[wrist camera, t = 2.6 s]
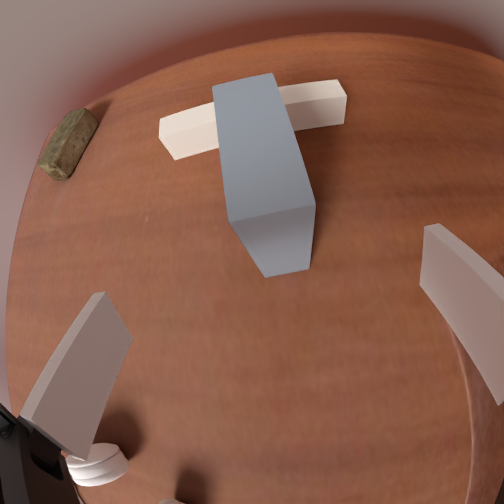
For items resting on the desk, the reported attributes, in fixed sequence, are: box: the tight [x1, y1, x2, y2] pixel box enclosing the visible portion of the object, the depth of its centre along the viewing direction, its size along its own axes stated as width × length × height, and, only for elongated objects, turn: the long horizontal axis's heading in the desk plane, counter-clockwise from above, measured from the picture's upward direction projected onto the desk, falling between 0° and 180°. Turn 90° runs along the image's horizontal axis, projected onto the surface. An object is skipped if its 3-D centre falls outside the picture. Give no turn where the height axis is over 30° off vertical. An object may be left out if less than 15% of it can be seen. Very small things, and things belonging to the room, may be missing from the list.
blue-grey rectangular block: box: [212, 73, 316, 278], centre depth 20 cm, size 10×4×13 cm, turn 10°
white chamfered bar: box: [159, 80, 347, 160], centre depth 28 cm, size 20×3×4 cm, turn 100°
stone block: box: [38, 108, 98, 180], centre depth 33 cm, size 6×12×5 cm, turn 166°
